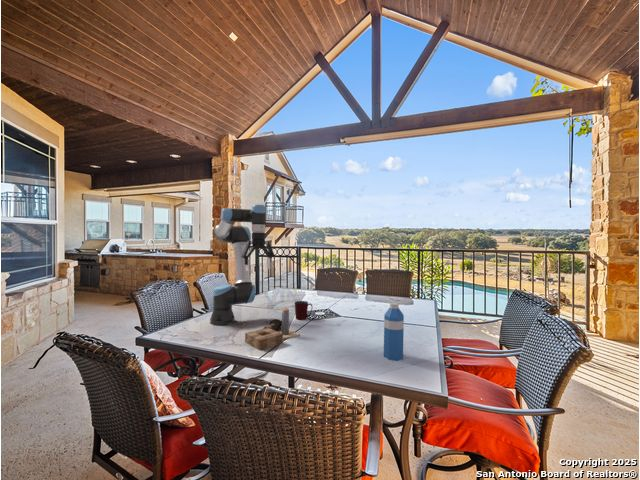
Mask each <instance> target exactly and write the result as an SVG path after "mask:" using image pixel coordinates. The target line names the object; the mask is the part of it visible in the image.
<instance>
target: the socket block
mask: <svg viewBox="0 0 640 480" xmlns="http://www.w3.org/2000/svg"><path fill="white" fill-rule="evenodd" d="M263 328H264V327H263ZM263 328H261V329H256V330H253V331H248V332H245V333H244V342H245V344H247V345H249V346H251V347H253V348H255V349H256V350H258V351H262V350H265V349H268V348H272V347H275V346H279V345H282V344H283V343H284V342H283V341H284V340H283V334H282V333H280V332H278V331H277V330H276V329H275V330H272V329H270V328H264V329H263Z"/></svg>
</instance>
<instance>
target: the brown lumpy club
mask: <svg viewBox="0 0 640 480" xmlns="http://www.w3.org/2000/svg"><path fill="white" fill-rule="evenodd" d="M264 328H270V329H272V330H275V331H276V330H279V329H282V319H278V318H274V319H271V320H269V323H268V325H266V326H264V327H262V329H264Z"/></svg>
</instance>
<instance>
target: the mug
mask: <svg viewBox="0 0 640 480" xmlns="http://www.w3.org/2000/svg"><path fill="white" fill-rule="evenodd" d="M309 306H311V307H313V304H312V303H309V302H308V301H305V300H296V301H294V313H295V320H298V321H304V320H307V318H309V317H310V316H311V315H312V311H313V308H311V309H310V313H309V314H308V311H309V310H308V308H309Z"/></svg>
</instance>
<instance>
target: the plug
mask: <svg viewBox="0 0 640 480" xmlns="http://www.w3.org/2000/svg"><path fill="white" fill-rule="evenodd" d="M281 320H282V326H281V330H282V334H283V335H288V334H289V330H290V309H289V308H287V307H285V308H284V307H283V308H281Z"/></svg>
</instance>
